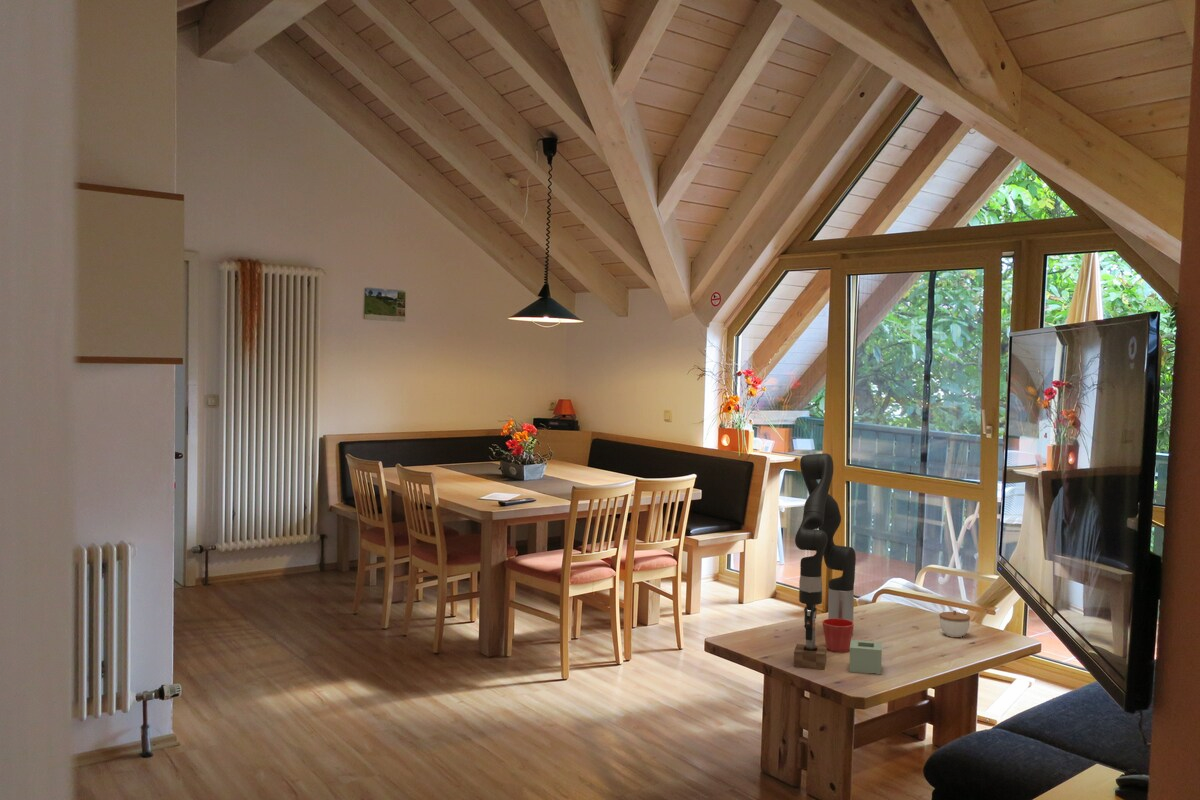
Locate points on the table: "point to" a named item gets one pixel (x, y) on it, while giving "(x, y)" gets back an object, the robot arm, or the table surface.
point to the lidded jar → (954, 623)
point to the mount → (810, 657)
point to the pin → (811, 643)
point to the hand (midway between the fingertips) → (809, 636)
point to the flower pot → (838, 634)
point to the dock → (865, 656)
